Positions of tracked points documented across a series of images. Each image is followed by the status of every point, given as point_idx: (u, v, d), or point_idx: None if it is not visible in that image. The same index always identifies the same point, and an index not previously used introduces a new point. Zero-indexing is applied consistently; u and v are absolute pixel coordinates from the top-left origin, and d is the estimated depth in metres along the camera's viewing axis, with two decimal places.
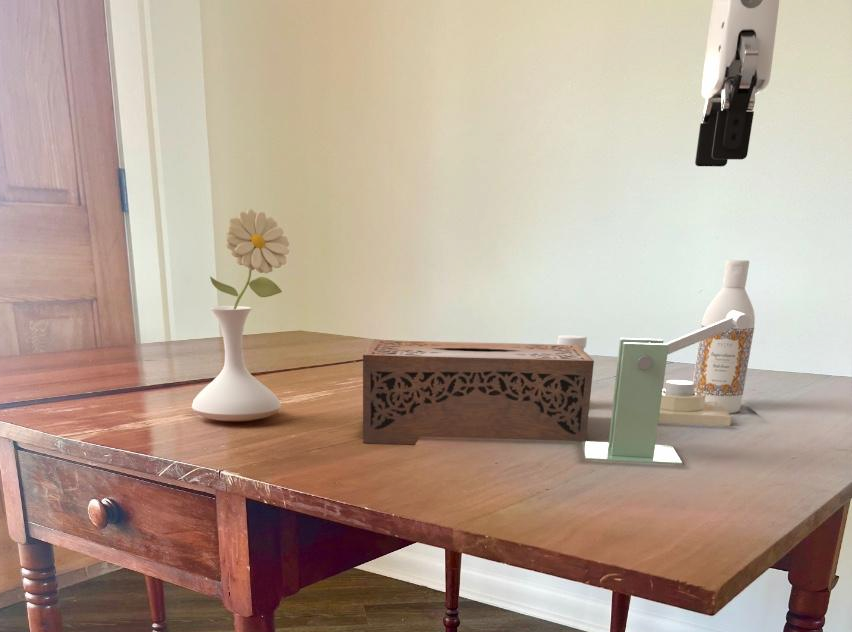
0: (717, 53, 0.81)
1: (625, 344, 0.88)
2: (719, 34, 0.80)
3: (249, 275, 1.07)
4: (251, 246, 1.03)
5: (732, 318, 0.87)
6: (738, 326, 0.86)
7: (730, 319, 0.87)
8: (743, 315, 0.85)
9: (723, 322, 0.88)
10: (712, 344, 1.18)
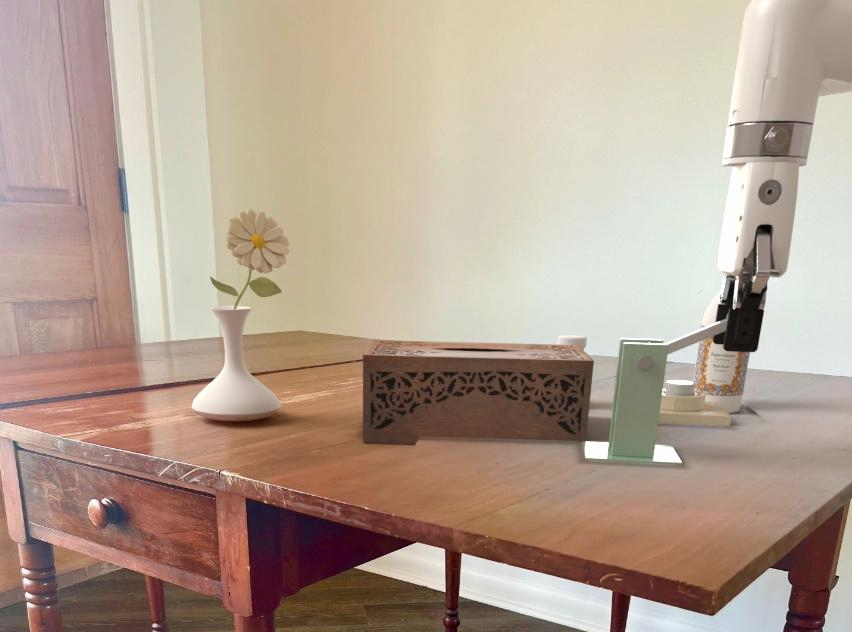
0: (735, 242, 0.82)
1: (625, 344, 0.88)
2: (737, 225, 0.81)
3: (249, 275, 1.07)
4: (251, 246, 1.03)
5: None
6: None
7: None
8: None
9: (723, 322, 0.88)
10: (712, 344, 1.18)
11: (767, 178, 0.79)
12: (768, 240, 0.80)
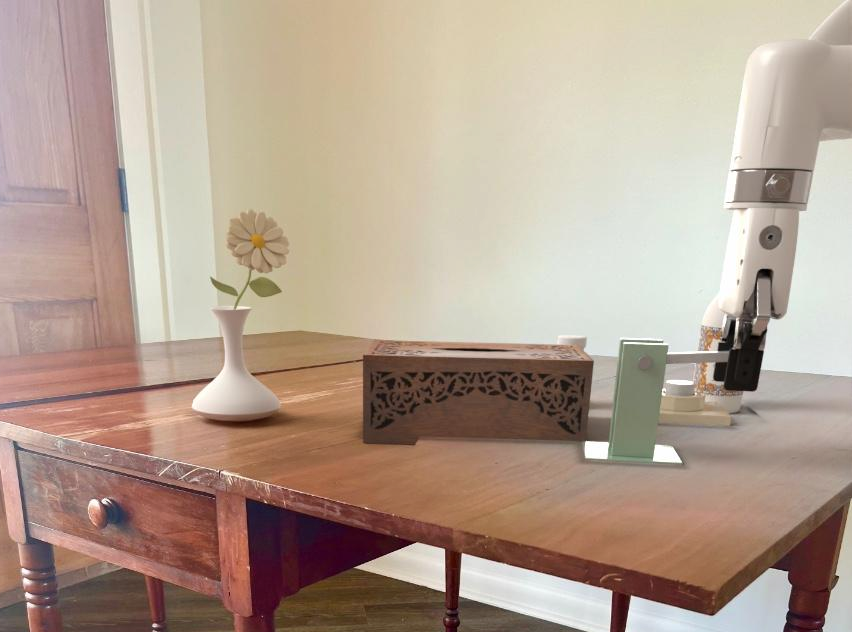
0: (736, 285, 0.83)
1: (625, 344, 0.88)
2: (738, 269, 0.83)
3: (249, 275, 1.07)
4: (251, 246, 1.03)
5: None
6: None
7: None
8: None
9: (728, 353, 0.89)
10: (712, 344, 1.18)
11: (768, 224, 0.80)
12: (768, 284, 0.81)
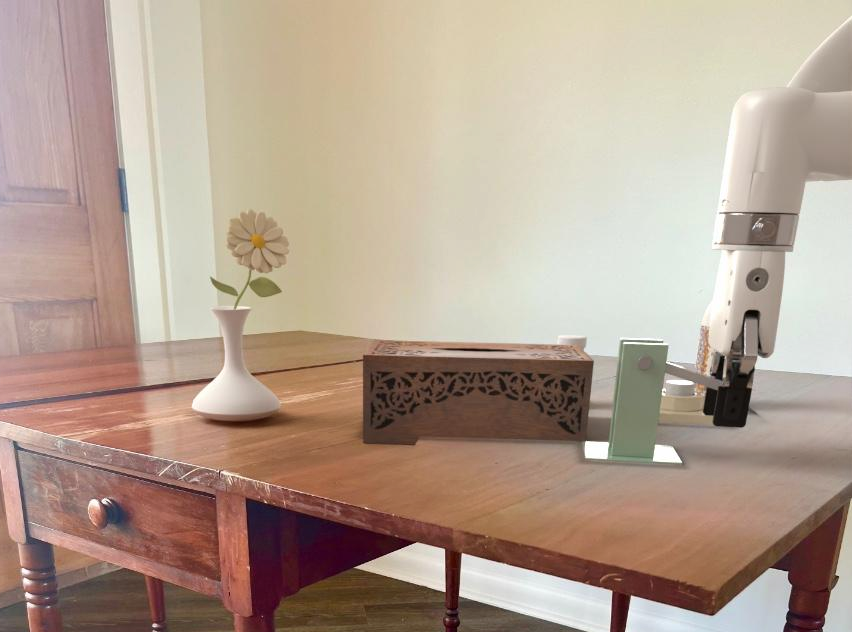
0: (723, 325, 0.85)
1: (625, 344, 0.88)
2: (726, 309, 0.84)
3: (249, 275, 1.07)
4: (251, 246, 1.03)
5: None
6: None
7: None
8: None
9: (721, 382, 0.90)
10: None
11: (754, 266, 0.82)
12: (755, 324, 0.83)
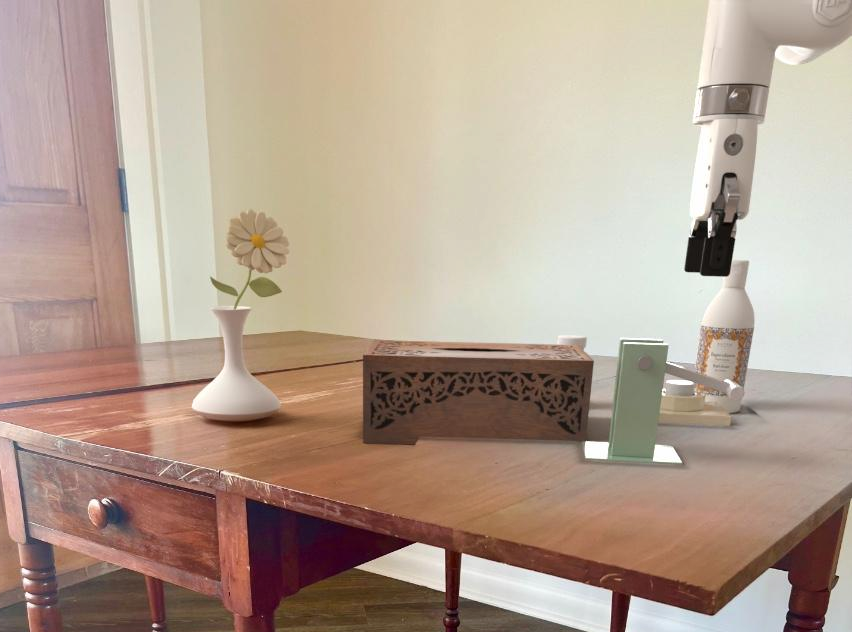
0: (704, 189, 0.96)
1: (625, 344, 0.88)
2: (706, 174, 0.95)
3: (249, 275, 1.07)
4: (251, 246, 1.03)
5: (730, 384, 0.90)
6: (731, 394, 0.88)
7: (728, 384, 0.90)
8: (741, 388, 0.88)
9: (721, 382, 0.90)
10: (712, 344, 1.18)
11: (731, 132, 0.93)
12: (734, 178, 0.93)
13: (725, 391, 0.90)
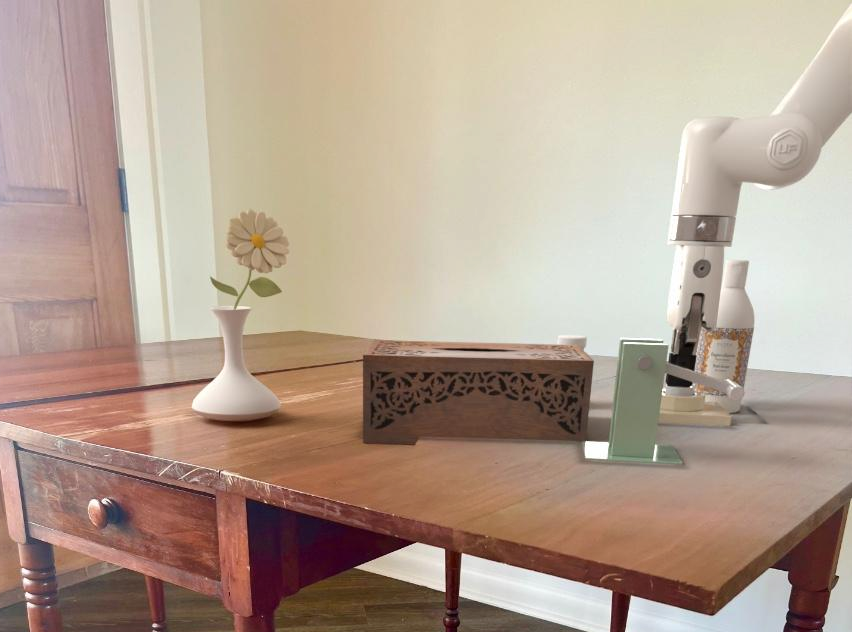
0: (676, 305, 1.06)
1: (625, 344, 0.88)
2: (678, 292, 1.05)
3: (249, 275, 1.07)
4: (251, 246, 1.03)
5: (730, 384, 0.90)
6: (731, 394, 0.88)
7: (728, 384, 0.90)
8: (741, 388, 0.88)
9: (721, 382, 0.90)
10: (712, 344, 1.18)
11: (699, 258, 1.03)
12: (699, 310, 1.05)
13: (725, 391, 0.90)
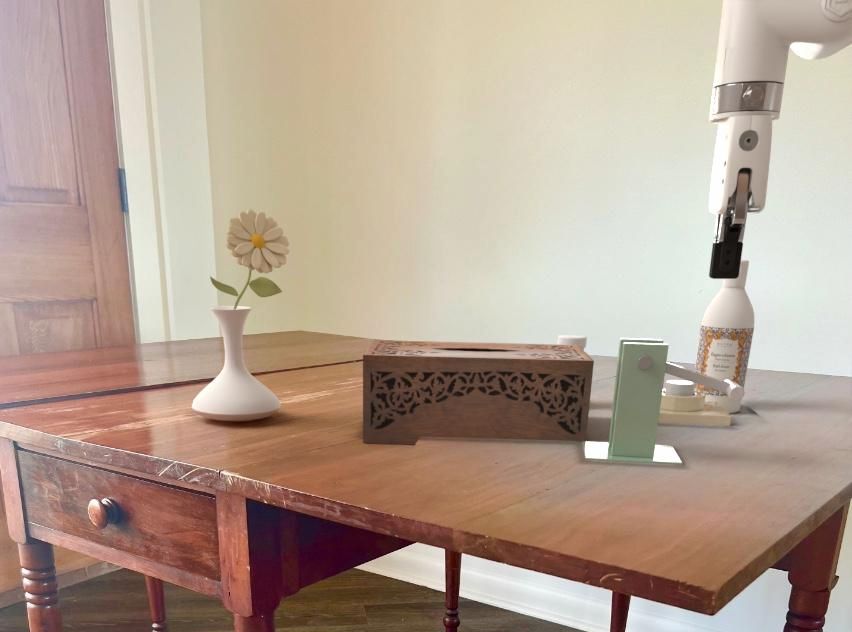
0: (721, 184, 0.98)
1: (625, 344, 0.88)
2: (722, 170, 0.98)
3: (249, 275, 1.07)
4: (251, 246, 1.03)
5: (730, 384, 0.90)
6: (731, 394, 0.88)
7: (728, 384, 0.90)
8: (741, 388, 0.88)
9: (721, 382, 0.90)
10: (712, 344, 1.18)
11: (746, 129, 0.95)
12: (746, 187, 0.97)
13: (725, 391, 0.90)
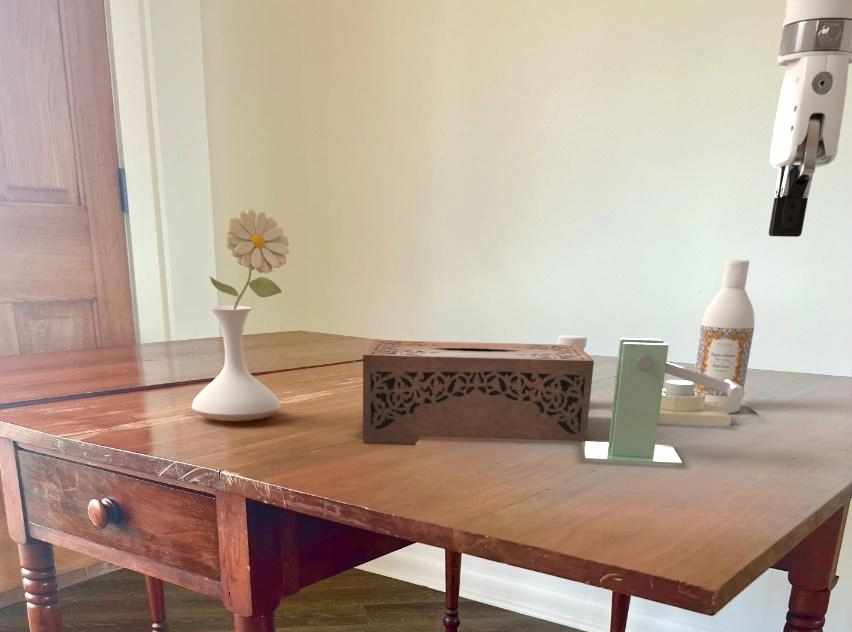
0: (789, 132, 0.91)
1: (625, 344, 0.88)
2: (791, 116, 0.91)
3: (249, 275, 1.07)
4: (251, 246, 1.03)
5: (730, 384, 0.90)
6: (731, 394, 0.88)
7: (728, 384, 0.90)
8: (741, 388, 0.88)
9: (721, 382, 0.90)
10: (712, 344, 1.18)
11: (820, 70, 0.88)
12: (817, 135, 0.90)
13: (725, 391, 0.90)
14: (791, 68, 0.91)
